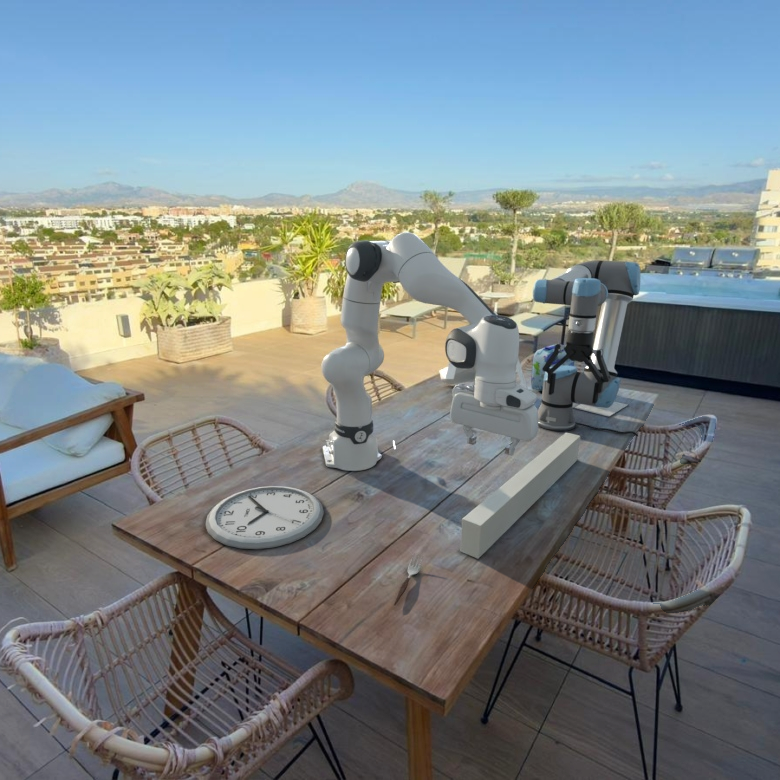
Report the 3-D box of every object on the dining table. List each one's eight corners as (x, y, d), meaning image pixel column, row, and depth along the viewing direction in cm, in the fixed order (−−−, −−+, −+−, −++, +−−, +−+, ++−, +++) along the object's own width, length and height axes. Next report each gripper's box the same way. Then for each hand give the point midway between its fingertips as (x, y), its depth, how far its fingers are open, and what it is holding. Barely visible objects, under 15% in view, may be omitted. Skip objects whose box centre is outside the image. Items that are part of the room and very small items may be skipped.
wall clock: (321, 540, 123) (190, 545, 121) (321, 546, 124) (191, 551, 121) (325, 481, 152) (219, 484, 149) (325, 486, 152) (220, 489, 150)
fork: (388, 605, 105) (388, 597, 104) (412, 560, 119) (412, 553, 119) (400, 609, 104) (400, 600, 104) (423, 563, 119) (423, 555, 118)
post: (562, 456, 176) (565, 432, 174) (577, 460, 173) (580, 435, 171) (459, 551, 124) (462, 518, 121) (478, 559, 121) (480, 525, 118)
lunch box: (547, 396, 238) (552, 351, 232) (526, 391, 246) (531, 347, 239) (574, 385, 256) (579, 343, 250) (554, 380, 263) (559, 340, 257)
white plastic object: (461, 429, 252) (437, 405, 227) (444, 352, 274) (420, 323, 250) (535, 404, 240) (518, 377, 215) (510, 326, 262) (492, 293, 237)
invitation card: (608, 416, 214) (573, 407, 224) (608, 416, 214) (573, 408, 224) (628, 404, 229) (594, 396, 238) (628, 405, 229) (594, 397, 238)
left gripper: (446, 385, 118) (443, 441, 122) (532, 403, 106) (526, 465, 111) (460, 379, 123) (457, 433, 127) (544, 396, 111) (537, 455, 115)
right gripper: (536, 327, 161) (529, 392, 168) (621, 338, 147) (610, 409, 153) (545, 324, 167) (538, 387, 173) (628, 334, 153) (617, 403, 159)
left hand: (490, 448), depth 119 cm, fingers open, 8 cm apart
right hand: (572, 398), depth 163 cm, fingers open, 13 cm apart
